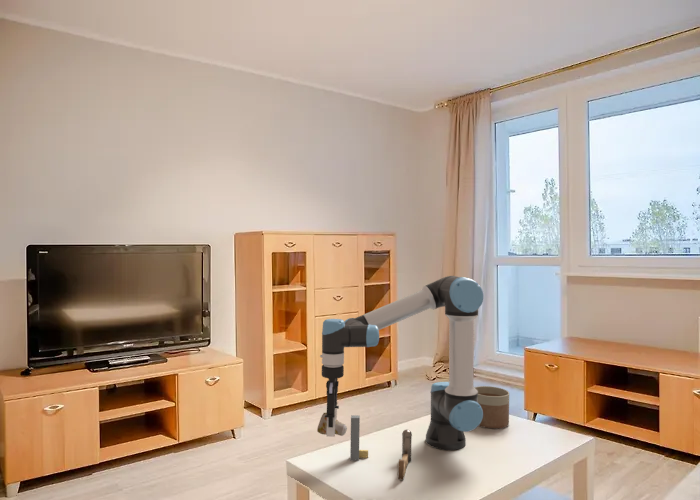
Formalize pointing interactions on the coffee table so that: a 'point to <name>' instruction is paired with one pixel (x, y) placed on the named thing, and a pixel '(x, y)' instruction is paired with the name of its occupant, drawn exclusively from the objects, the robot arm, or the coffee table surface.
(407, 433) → the hinge post
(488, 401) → the planter
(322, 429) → the white floral pitcher
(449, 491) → the coffee table surface
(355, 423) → the post
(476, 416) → the robot arm
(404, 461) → the gate
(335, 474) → the coffee table surface
